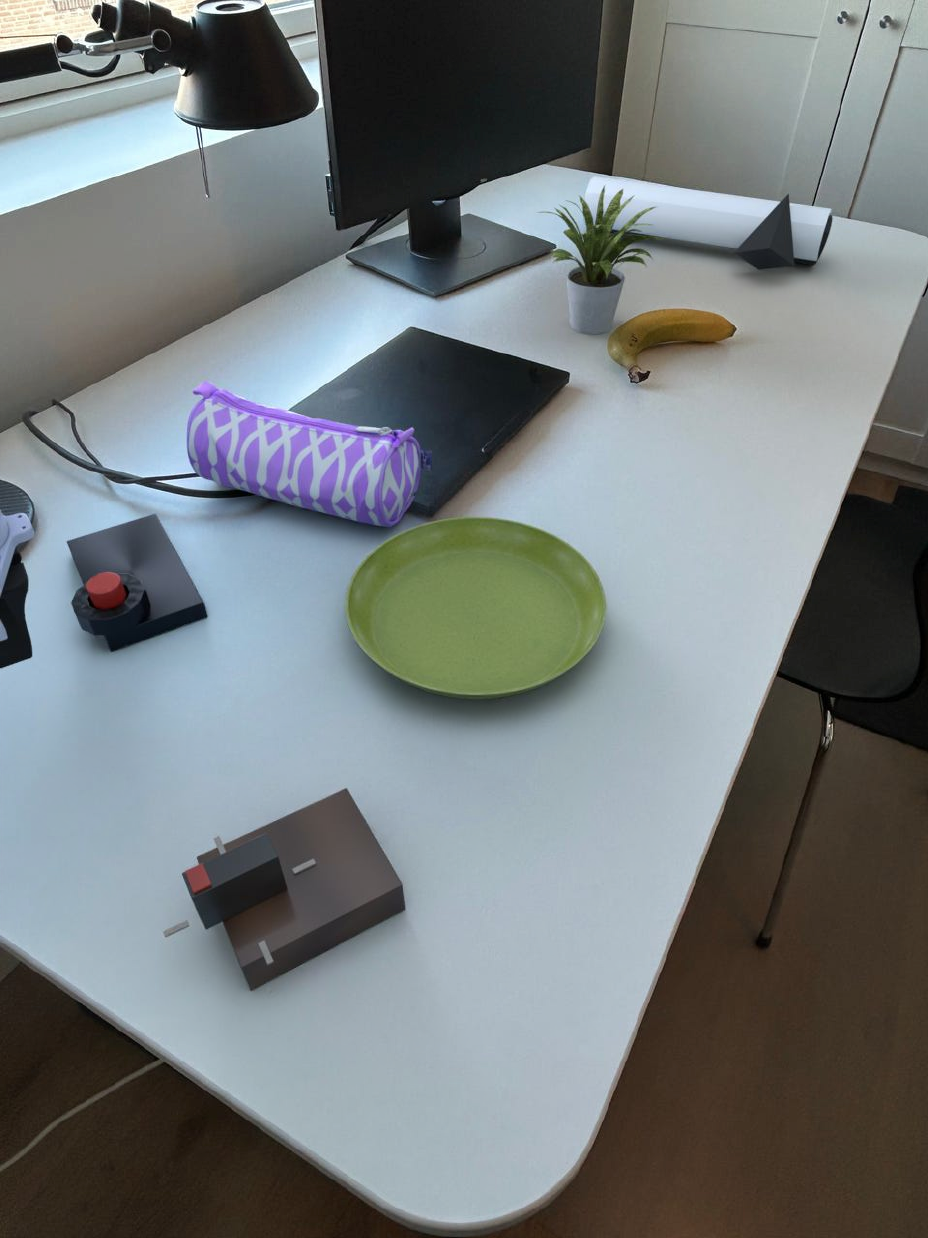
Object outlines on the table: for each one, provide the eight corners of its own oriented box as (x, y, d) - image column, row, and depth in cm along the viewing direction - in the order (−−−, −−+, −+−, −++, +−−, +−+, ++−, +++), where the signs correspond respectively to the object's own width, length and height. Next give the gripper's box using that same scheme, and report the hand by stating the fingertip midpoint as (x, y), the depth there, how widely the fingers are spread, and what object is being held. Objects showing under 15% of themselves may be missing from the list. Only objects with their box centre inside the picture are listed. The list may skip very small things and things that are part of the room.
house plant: (561, 364, 104) (572, 221, 92) (509, 317, 113) (513, 181, 102) (663, 340, 108) (685, 200, 97) (605, 296, 117) (619, 164, 106)
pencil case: (435, 492, 85) (432, 406, 79) (398, 549, 79) (391, 460, 72) (236, 451, 91) (217, 367, 84) (186, 501, 85) (162, 415, 78)
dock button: (130, 603, 70) (124, 586, 68) (96, 614, 69) (90, 598, 67) (121, 584, 71) (115, 567, 70) (89, 595, 70) (82, 578, 69)
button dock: (209, 618, 73) (199, 587, 70) (94, 660, 69) (80, 628, 67) (160, 527, 82) (150, 496, 79) (56, 560, 78) (43, 529, 76)
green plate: (312, 696, 66) (307, 667, 64) (390, 531, 81) (387, 502, 79) (585, 743, 63) (589, 714, 61) (615, 562, 78) (619, 533, 75)
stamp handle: (276, 865, 53) (265, 830, 50) (287, 889, 52) (277, 854, 49) (195, 905, 51) (180, 870, 48) (205, 930, 50) (190, 896, 47)
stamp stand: (201, 1029, 49) (188, 1005, 47) (155, 897, 55) (141, 870, 52) (410, 917, 53) (407, 891, 51) (347, 807, 59) (342, 779, 57)
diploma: (583, 251, 137) (562, 219, 124) (599, 190, 135) (580, 151, 123) (814, 290, 126) (817, 259, 113) (835, 224, 124) (840, 184, 112)
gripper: (25, 525, 43) (106, 707, 52) (-21, 395, 52) (55, 570, 61) (-136, 573, 40) (-20, 756, 50) (-154, 428, 49) (-54, 605, 59)
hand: (14, 656), depth 55 cm, fingers closed
